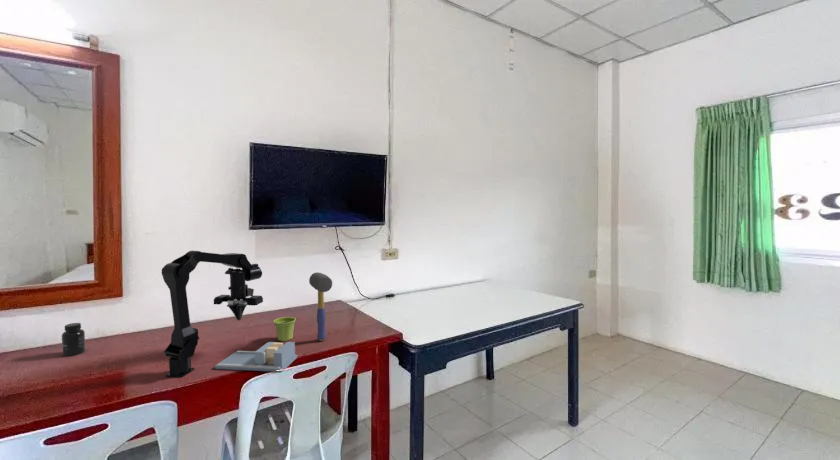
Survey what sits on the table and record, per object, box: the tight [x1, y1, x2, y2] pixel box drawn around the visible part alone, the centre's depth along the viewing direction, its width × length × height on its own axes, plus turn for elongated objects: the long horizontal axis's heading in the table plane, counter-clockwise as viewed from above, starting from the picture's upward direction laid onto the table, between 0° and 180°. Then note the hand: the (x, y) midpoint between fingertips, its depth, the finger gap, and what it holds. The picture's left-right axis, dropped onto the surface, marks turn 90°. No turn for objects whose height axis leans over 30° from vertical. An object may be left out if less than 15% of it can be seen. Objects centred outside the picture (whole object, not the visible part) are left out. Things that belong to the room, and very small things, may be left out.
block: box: [266, 341, 284, 364], centre depth 141 cm, size 6×4×6 cm, turn 174°
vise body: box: [214, 341, 298, 372], centre depth 142 cm, size 13×26×6 cm, turn 84°
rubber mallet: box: [308, 272, 333, 342], centre depth 165 cm, size 12×8×30 cm, turn 33°
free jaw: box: [254, 341, 275, 365], centre depth 142 cm, size 10×4×5 cm, turn 174°
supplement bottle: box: [61, 322, 86, 357], centre depth 151 cm, size 7×7×12 cm
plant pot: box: [273, 316, 297, 342], centre depth 167 cm, size 9×9×9 cm
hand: (239, 320), depth 156 cm, fingers closed
